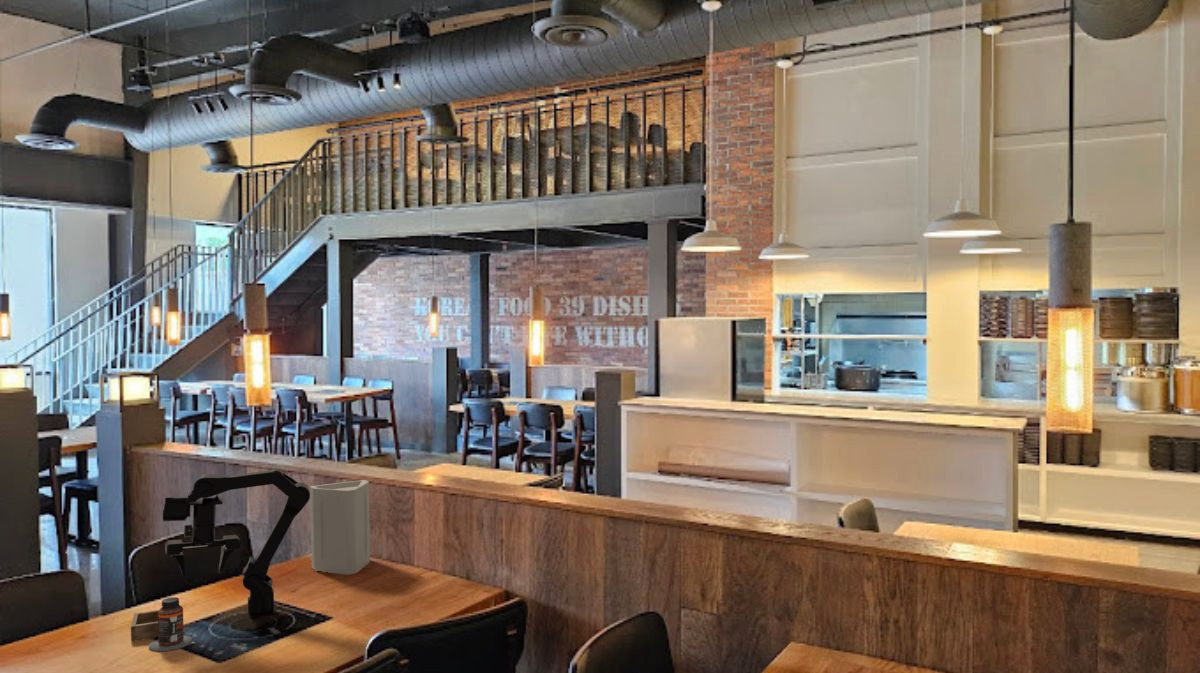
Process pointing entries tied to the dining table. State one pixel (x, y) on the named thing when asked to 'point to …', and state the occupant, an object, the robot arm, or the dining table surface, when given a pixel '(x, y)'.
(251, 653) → the dining table surface
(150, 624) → the walnut box
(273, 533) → the robot arm
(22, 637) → the dining table surface
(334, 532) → the grey rounded wastebasket
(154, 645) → the rubber mat
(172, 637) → the supplement bottle
